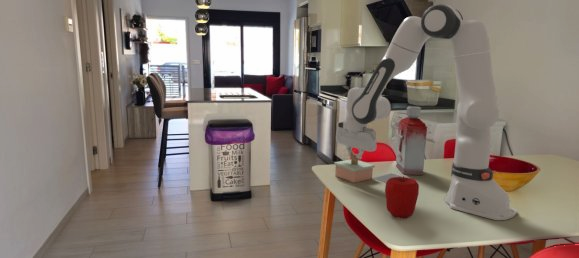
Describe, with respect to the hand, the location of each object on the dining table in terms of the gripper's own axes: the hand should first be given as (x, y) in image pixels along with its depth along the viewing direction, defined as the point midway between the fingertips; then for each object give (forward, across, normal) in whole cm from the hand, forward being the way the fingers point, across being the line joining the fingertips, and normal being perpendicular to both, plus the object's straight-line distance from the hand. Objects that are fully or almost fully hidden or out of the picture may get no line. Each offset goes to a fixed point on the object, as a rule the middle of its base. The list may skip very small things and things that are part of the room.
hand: (354, 157), depth 159 cm
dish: (+9, 0, 0) cm, 9 cm away
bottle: (+10, -7, -29) cm, 31 cm away
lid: (+4, 0, 0) cm, 4 cm away
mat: (+9, -12, -12) cm, 19 cm away
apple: (+10, -36, +16) cm, 40 cm away
